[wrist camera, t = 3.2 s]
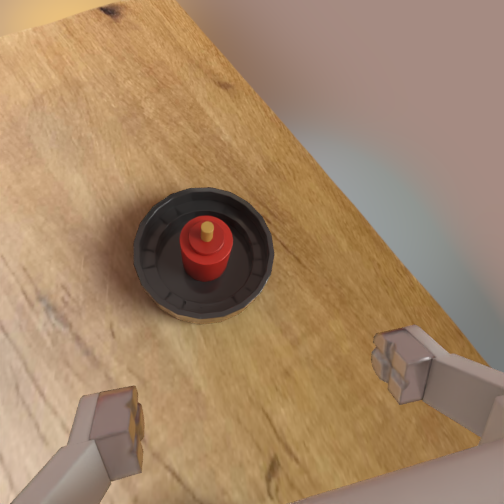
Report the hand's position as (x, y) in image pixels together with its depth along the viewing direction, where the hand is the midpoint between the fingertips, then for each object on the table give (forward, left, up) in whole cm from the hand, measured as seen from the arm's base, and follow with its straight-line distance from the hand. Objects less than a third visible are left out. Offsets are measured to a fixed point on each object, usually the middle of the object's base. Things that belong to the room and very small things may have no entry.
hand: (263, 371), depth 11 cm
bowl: (-8, +10, -28) cm, 31 cm away
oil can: (-8, +10, -27) cm, 30 cm away
